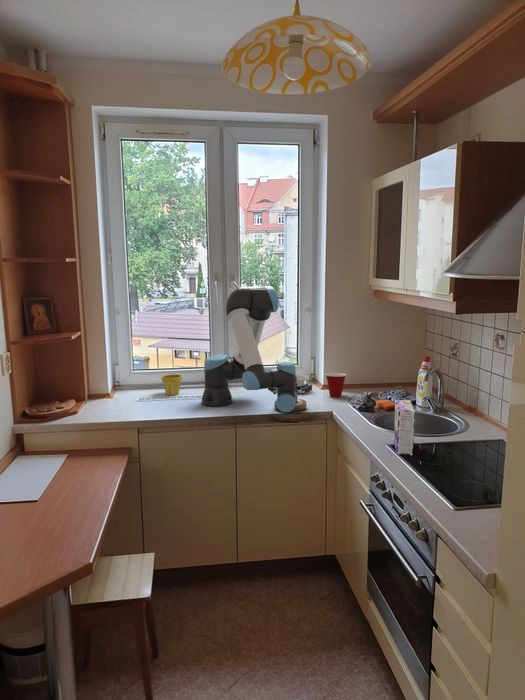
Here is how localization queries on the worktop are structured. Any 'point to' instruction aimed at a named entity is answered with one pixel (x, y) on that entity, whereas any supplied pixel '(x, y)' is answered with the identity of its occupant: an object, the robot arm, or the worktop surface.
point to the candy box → (404, 427)
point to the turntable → (296, 405)
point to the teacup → (301, 379)
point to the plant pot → (172, 383)
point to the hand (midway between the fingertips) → (290, 383)
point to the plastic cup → (335, 383)
